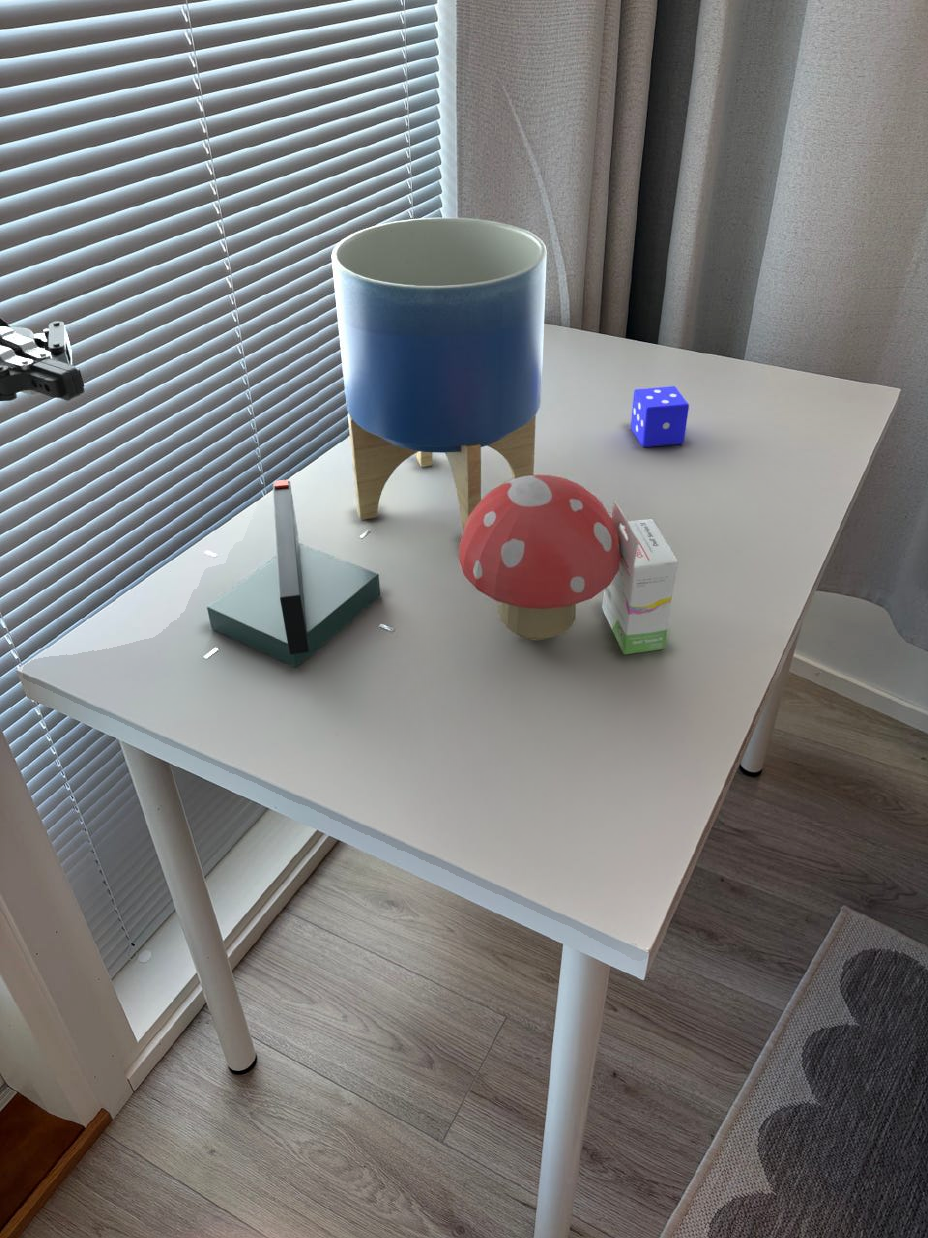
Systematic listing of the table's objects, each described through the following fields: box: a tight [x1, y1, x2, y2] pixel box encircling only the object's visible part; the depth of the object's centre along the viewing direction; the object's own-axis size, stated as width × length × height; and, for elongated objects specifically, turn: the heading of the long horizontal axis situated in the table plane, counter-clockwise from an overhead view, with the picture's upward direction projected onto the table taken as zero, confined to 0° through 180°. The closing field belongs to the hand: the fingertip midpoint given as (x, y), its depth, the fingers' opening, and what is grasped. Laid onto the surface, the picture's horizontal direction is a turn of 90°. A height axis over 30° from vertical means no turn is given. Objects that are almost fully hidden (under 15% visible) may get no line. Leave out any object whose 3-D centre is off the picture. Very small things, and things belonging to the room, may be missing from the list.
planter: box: [331, 217, 548, 532], centre depth 93 cm, size 19×19×26 cm
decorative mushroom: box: [458, 474, 620, 641], centre depth 79 cm, size 13×13×15 cm
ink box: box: [601, 500, 679, 655], centre depth 81 cm, size 7×4×12 cm, turn 10°
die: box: [630, 385, 690, 448], centre depth 110 cm, size 5×5×5 cm
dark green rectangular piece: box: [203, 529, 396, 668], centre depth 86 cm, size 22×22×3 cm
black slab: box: [272, 479, 309, 655], centre depth 83 cm, size 18×2×6 cm, turn 11°
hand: (74, 385), depth 73 cm, fingers closed
